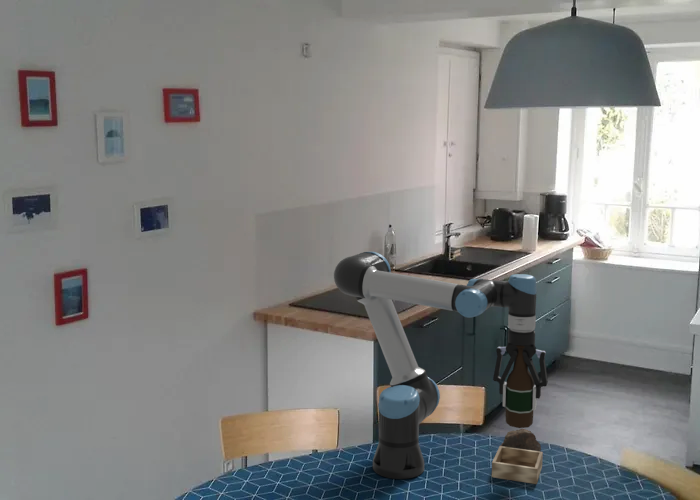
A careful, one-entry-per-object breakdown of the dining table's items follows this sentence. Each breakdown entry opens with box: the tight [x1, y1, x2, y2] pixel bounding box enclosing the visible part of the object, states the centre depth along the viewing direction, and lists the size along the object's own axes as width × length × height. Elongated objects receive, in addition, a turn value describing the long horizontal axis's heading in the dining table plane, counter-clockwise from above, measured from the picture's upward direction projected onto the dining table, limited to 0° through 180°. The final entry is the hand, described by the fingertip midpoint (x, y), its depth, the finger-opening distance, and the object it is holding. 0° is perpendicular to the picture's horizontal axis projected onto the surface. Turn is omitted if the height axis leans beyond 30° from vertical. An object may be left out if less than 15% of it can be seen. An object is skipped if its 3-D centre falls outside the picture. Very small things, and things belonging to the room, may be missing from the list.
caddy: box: [491, 445, 544, 485], centre depth 216 cm, size 13×13×4 cm
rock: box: [499, 428, 542, 452], centre depth 230 cm, size 14×9×10 cm
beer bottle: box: [505, 345, 535, 429], centre depth 213 cm, size 8×8×24 cm
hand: (519, 406), depth 214 cm, fingers closed on beer bottle, 8 cm apart
